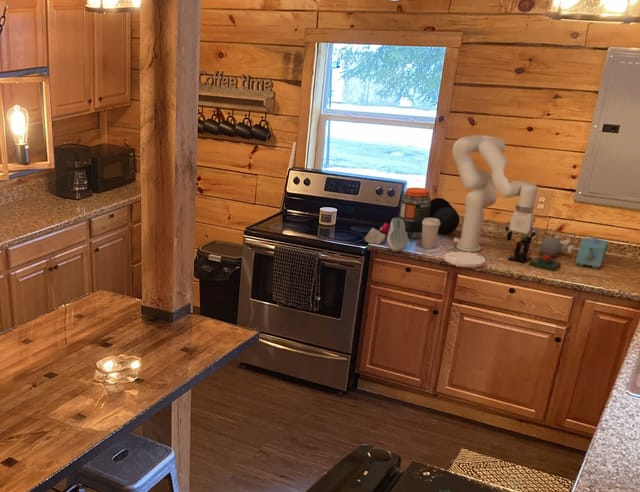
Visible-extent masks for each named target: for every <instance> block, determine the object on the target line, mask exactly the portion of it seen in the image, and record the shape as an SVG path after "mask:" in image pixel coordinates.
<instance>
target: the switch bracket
mask: <svg viewBox="0 0 640 492" xmlns="http://www.w3.org/2000/svg"><path fill="white" fill-rule="evenodd" d="M522 240H523V238H522ZM526 242H527V241H525V245H524V249H523V252H522V254H521V252H520V250H521V247H522V245H520V242H519V243H518V242H516V245H515V248H514V249H515V250H514V254H513V255H511V256H510V257H508V261H511V262H514V263H519V264H523V265H524V264H526V263H527V262H530V261H531V260H533V257H532V256H529V255H528V251H530V245H531V243H530V244H529V245H526Z"/></svg>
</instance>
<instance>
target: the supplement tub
mask: <svg viewBox="0 0 640 492" xmlns="http://www.w3.org/2000/svg"><path fill="white" fill-rule="evenodd" d="M404 193H405V194H404V195H403V196H402V198H401V200H400V201H401V202H400V211H399V218H400V219H402V220H403V221H404V223H405V231H406V233H407V235H408V239H422V226H423V224H422V221H423V220H424V218H429V212H430V206H431V200H432V199H431V197H430V189H427V188H423V187H408V188H406V189H405V192H404Z"/></svg>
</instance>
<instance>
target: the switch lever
mask: <svg viewBox="0 0 640 492" xmlns="http://www.w3.org/2000/svg"><path fill="white" fill-rule="evenodd" d="M515 242H516V243H517V242H518V243H519V242H520V245H521V247H522V246H524V245H525V240H522V238H521V237H519V236H517V237H515Z"/></svg>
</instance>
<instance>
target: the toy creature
mask: <svg viewBox="0 0 640 492" xmlns="http://www.w3.org/2000/svg"><path fill="white" fill-rule="evenodd" d="M559 237H560V235H559V234H557V235H556V236H555V237H554V238H556V239H559ZM559 241H560V243H561V250H560V252H559V253H558V254H564V255H568V254H571V253H572V251H573V250H574V245H571V244H570V243H571V240H570V239H564V240H559ZM569 244H570V245H569Z"/></svg>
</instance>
